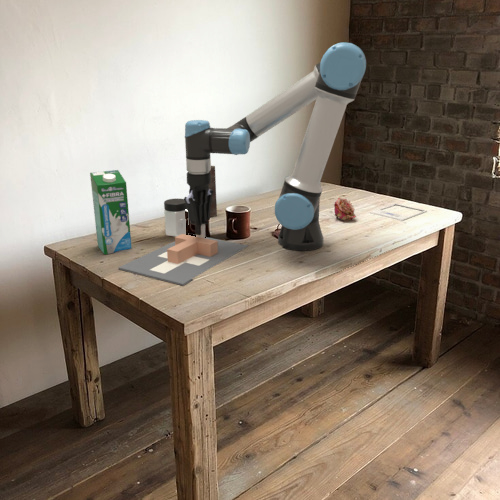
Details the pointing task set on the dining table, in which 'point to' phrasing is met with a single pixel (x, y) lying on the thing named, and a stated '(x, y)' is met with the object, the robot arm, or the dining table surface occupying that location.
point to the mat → (184, 271)
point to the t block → (191, 248)
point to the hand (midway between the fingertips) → (200, 243)
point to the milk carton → (111, 211)
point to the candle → (213, 187)
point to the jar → (175, 217)
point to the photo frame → (395, 216)
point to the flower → (344, 209)
